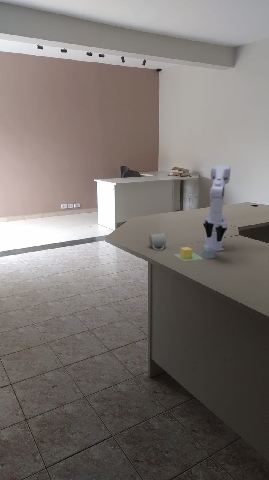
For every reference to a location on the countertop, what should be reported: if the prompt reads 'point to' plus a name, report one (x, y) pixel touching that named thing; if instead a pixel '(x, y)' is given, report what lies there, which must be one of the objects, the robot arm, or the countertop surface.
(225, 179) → the robot arm
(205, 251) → the blue brick
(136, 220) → the countertop surface
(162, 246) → the ceramic mug
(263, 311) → the countertop surface
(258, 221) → the countertop surface
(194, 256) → the baseplate
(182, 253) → the yellow brick
